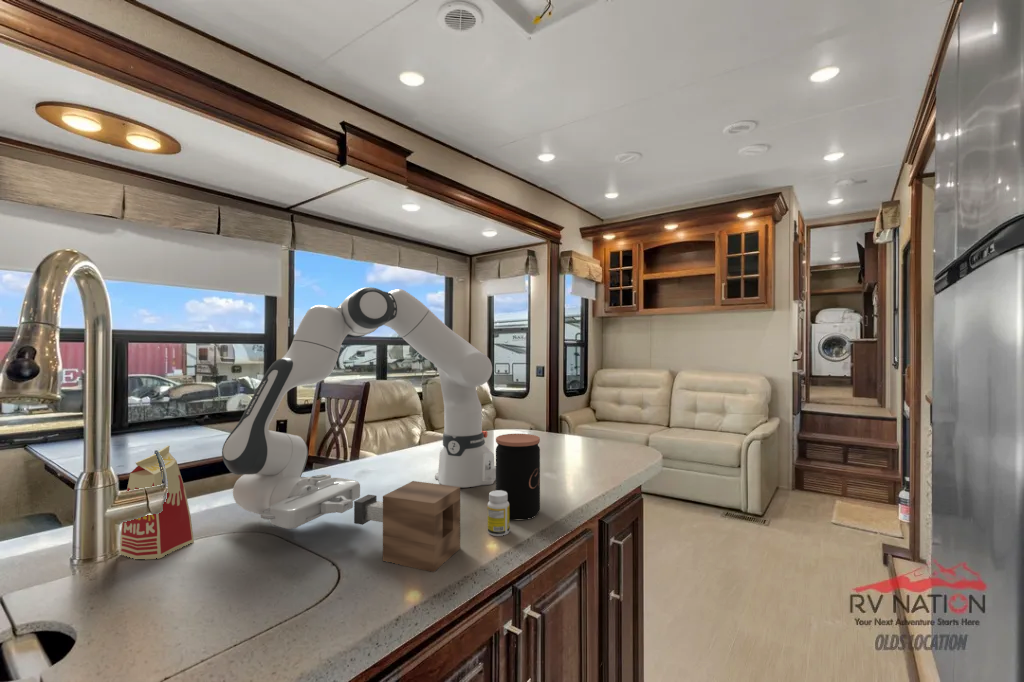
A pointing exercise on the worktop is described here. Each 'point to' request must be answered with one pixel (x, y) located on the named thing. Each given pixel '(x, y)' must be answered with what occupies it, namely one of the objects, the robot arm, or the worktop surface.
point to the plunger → (368, 510)
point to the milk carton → (167, 527)
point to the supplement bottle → (498, 513)
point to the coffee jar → (519, 473)
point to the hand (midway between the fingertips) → (348, 506)
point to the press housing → (421, 525)
